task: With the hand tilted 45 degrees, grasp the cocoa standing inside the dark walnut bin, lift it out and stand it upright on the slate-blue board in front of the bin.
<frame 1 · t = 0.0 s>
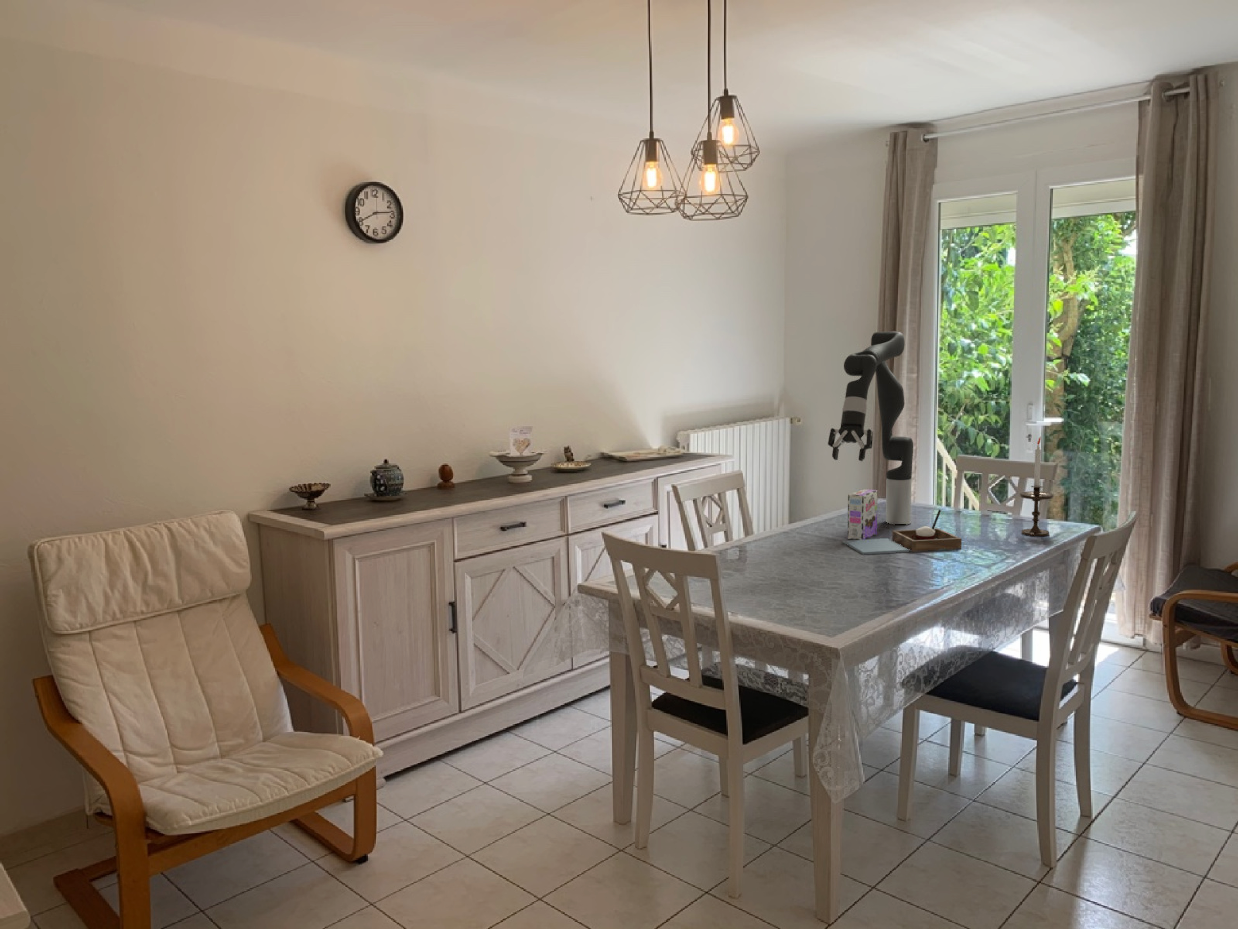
hand: (847, 460, 305), 31 cm above the table, tool tilted 20°, fingers open, 8 cm apart
candlestick: (1035, 534, 330), on the table
board: (875, 547, 317), on the table
bin: (925, 544, 319), on the table
cocoa: (925, 545, 319), resting in bin
candy box: (862, 537, 334), on the table
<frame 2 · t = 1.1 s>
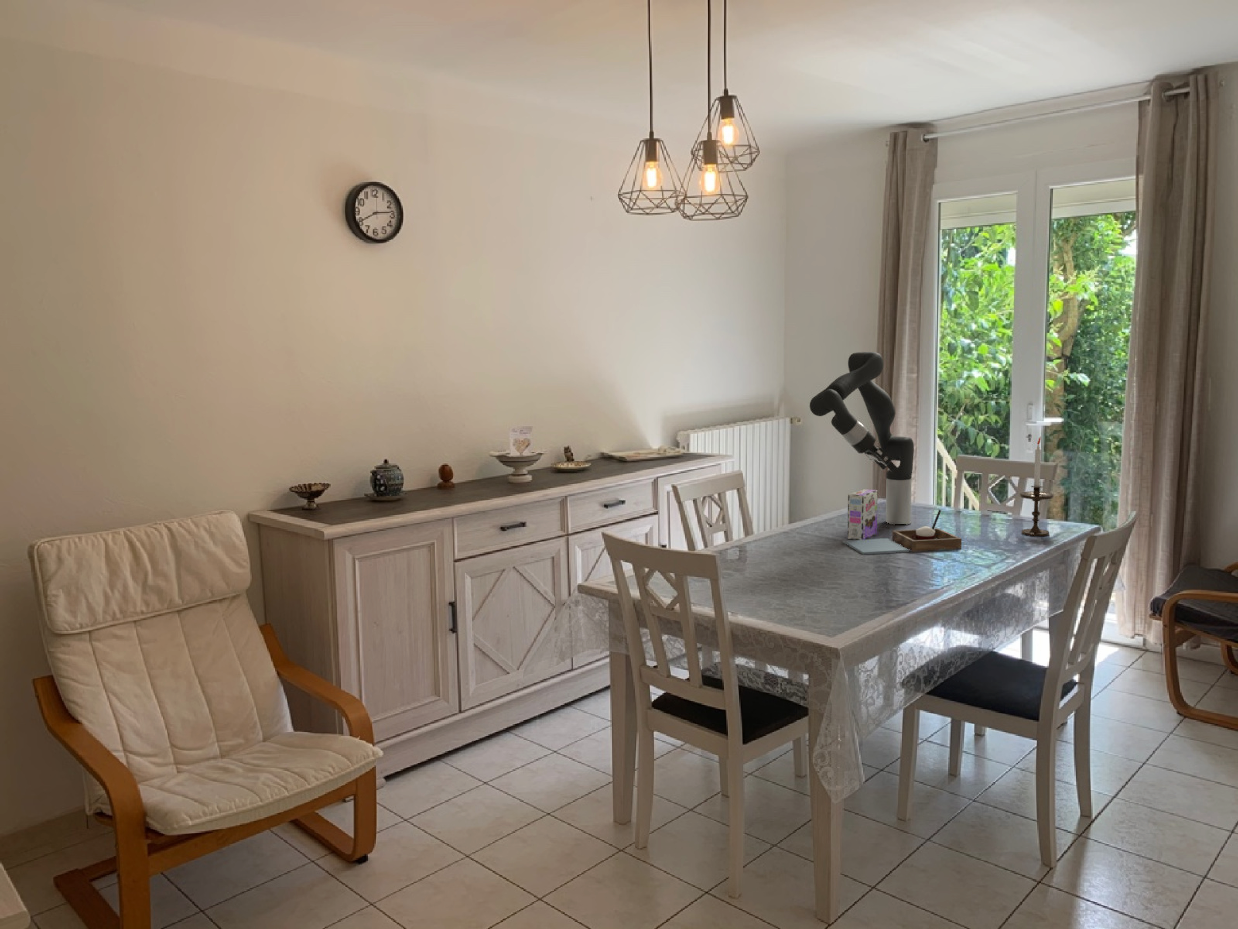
hand: (890, 469, 313), 27 cm above the table, tool tilted 45°, fingers open, 8 cm apart
nothing on the table moved.
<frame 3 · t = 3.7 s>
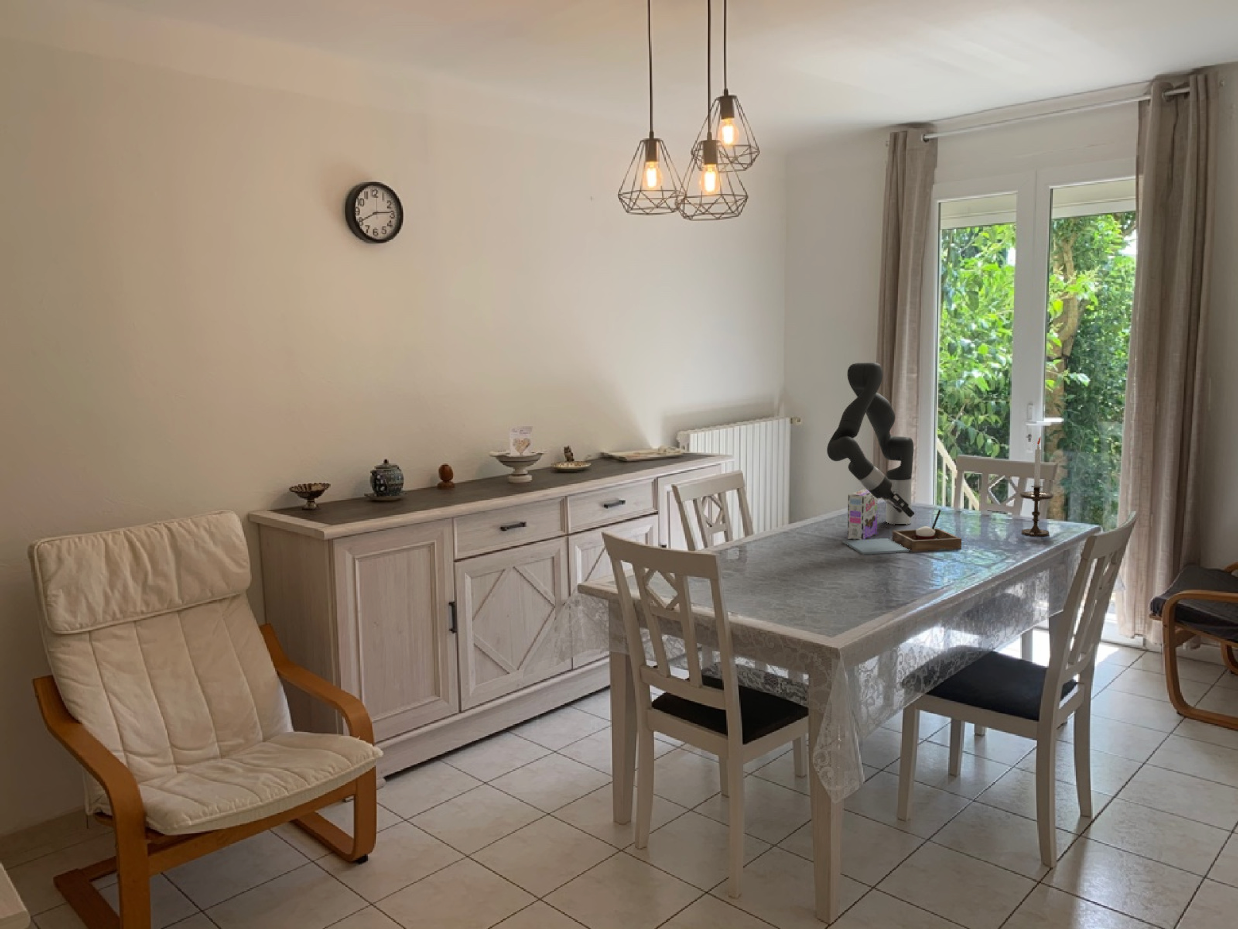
hand: (906, 513, 316), 11 cm above the table, tool tilted 45°, fingers open, 8 cm apart
nothing on the table moved.
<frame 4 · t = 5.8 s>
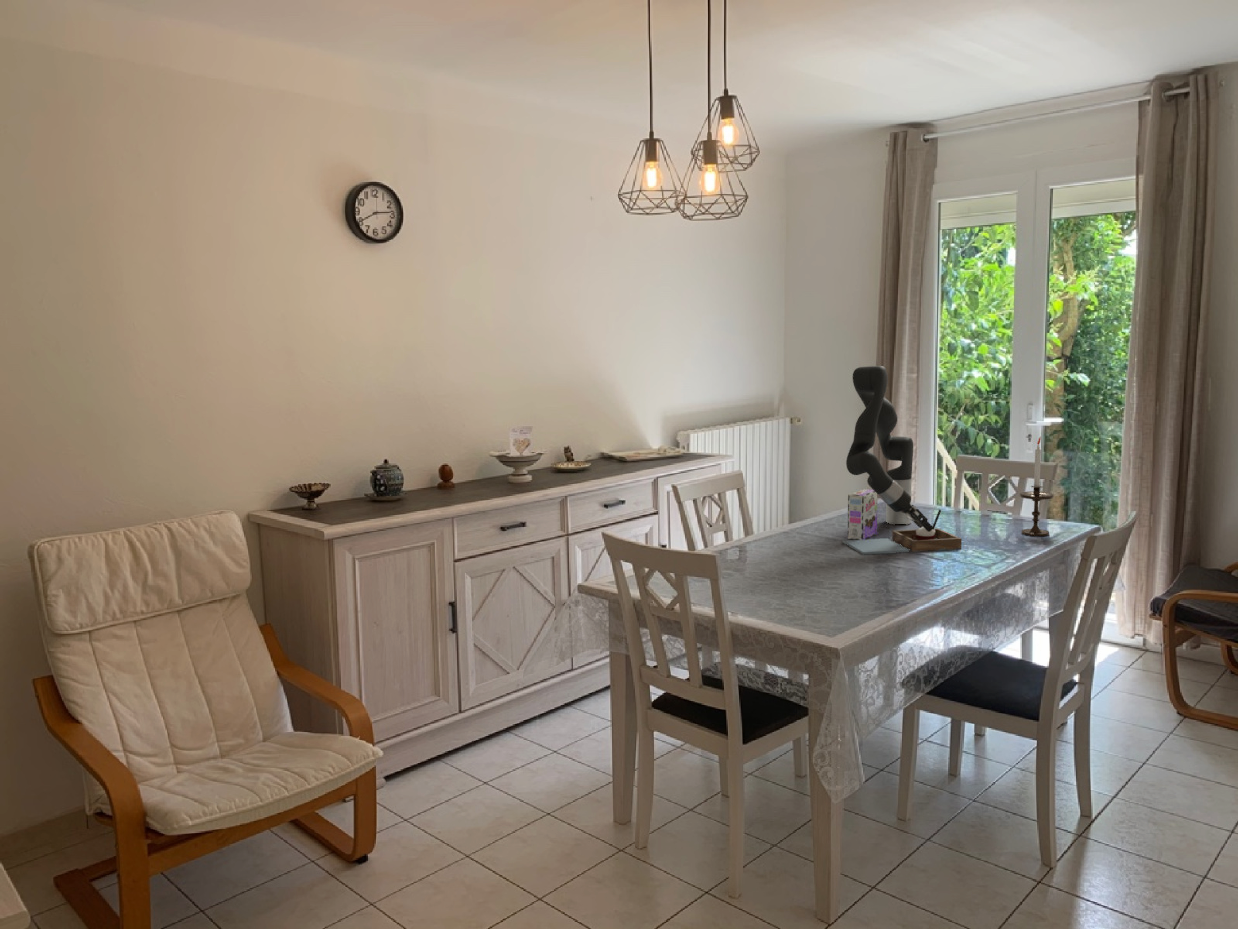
hand: (926, 527, 318), 6 cm above the table, tool tilted 45°, fingers closed on cocoa, 6 cm apart
cocoa: (926, 545, 319), resting in bin, touching gripper
everything else where it was.
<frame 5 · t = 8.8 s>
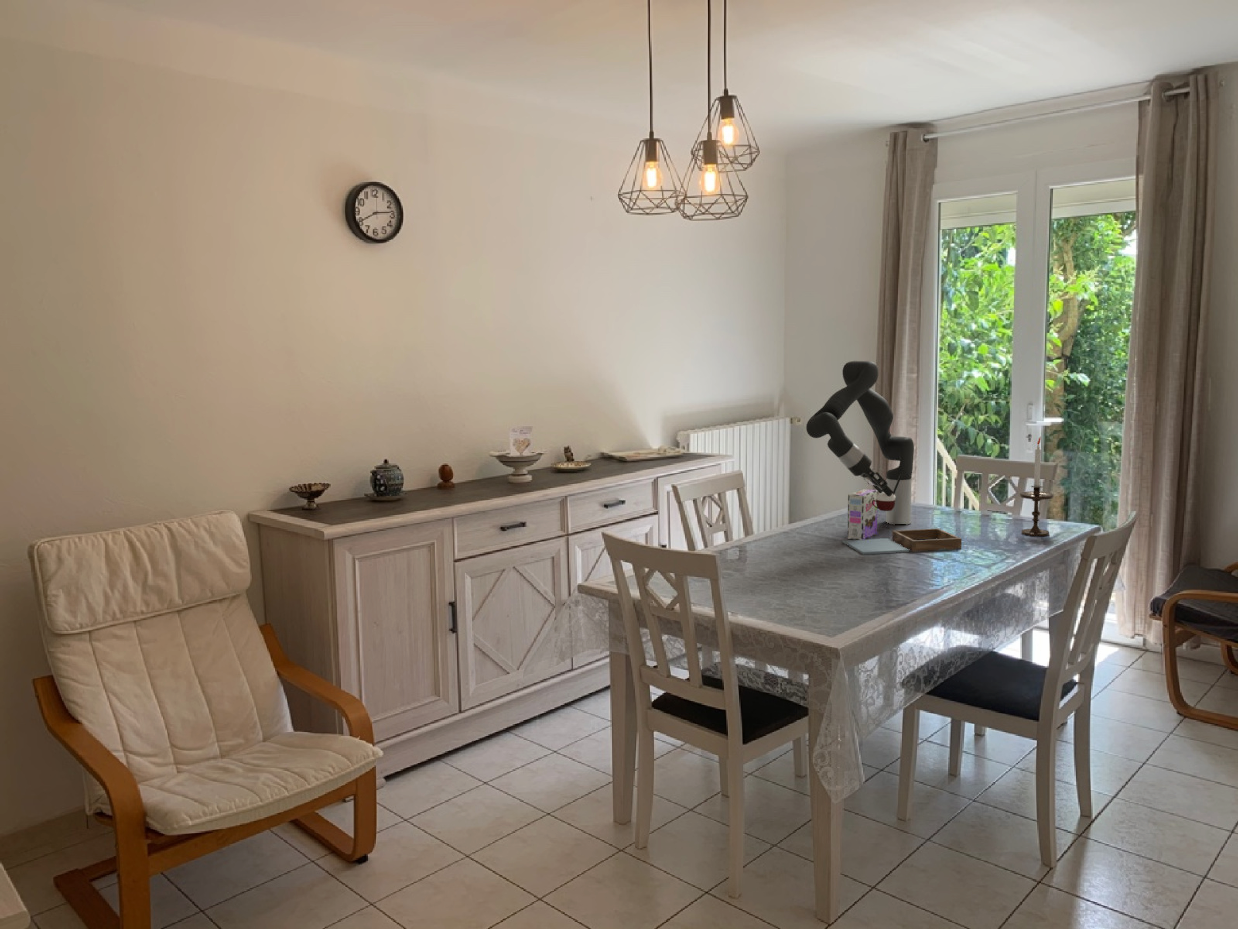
hand: (886, 493, 314), 19 cm above the table, tool tilted 45°, fingers closed on cocoa, 6 cm apart
cocoa: (886, 510, 315), point 13 cm above the table, touching gripper
everything else where it was.
when the fingers open (8 cm above the table, at t = 11.6 s): cocoa drops 1 cm, resting on board.
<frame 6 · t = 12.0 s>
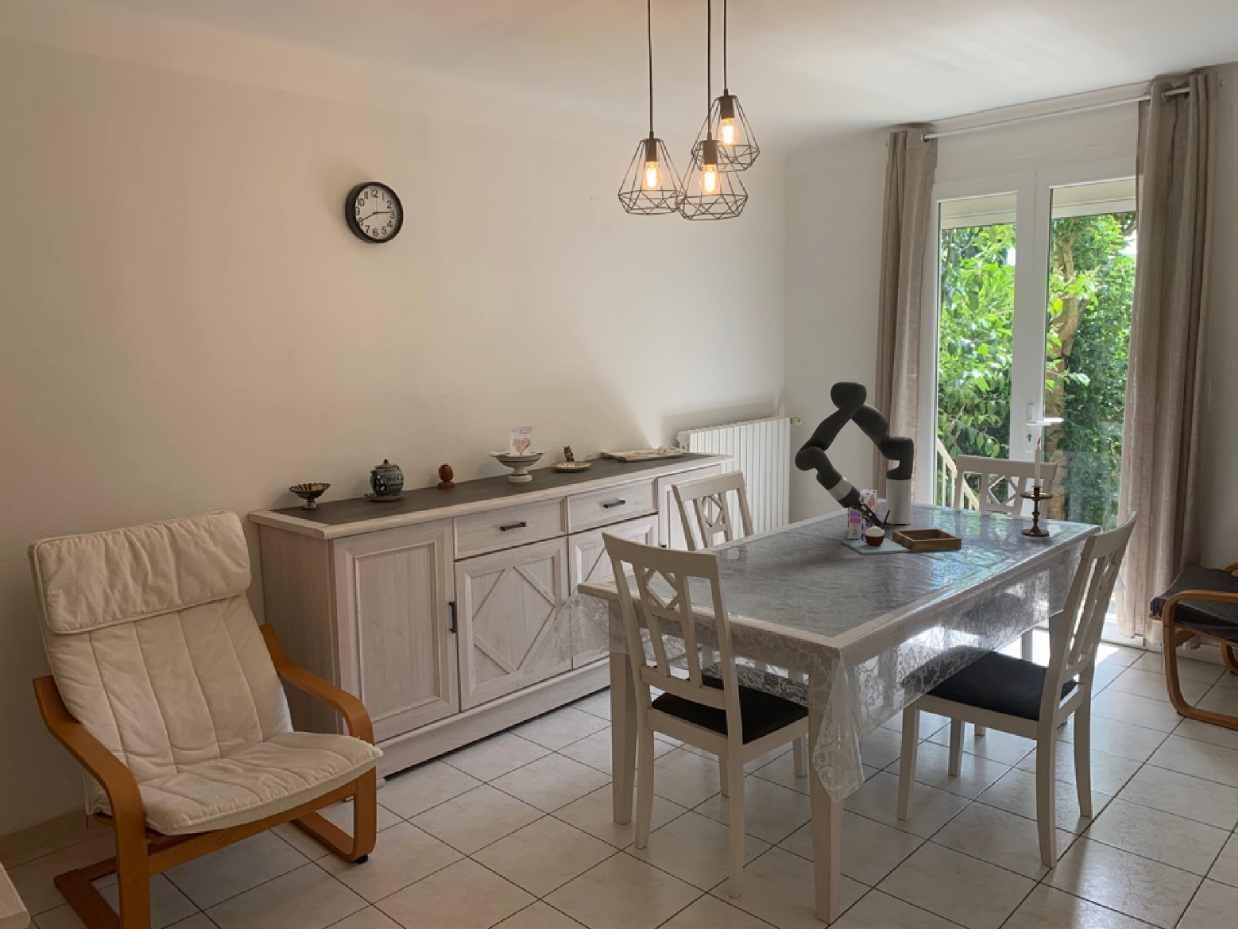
hand: (875, 523, 315), 8 cm above the table, tool tilted 45°, fingers open, 8 cm apart
cocoa: (875, 545, 317), point 1 cm above the table, touching board
everything else where it was.
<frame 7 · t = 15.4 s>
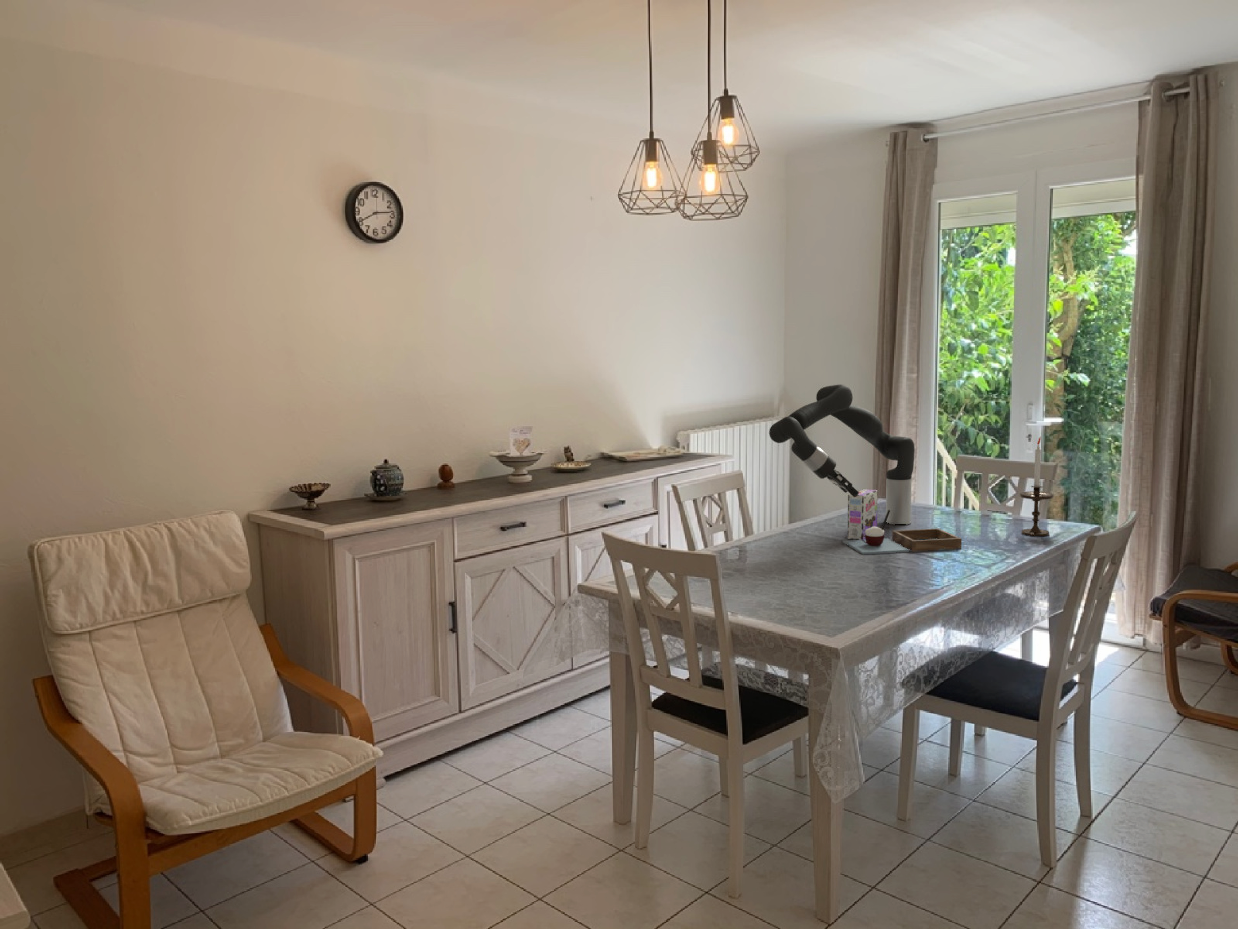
hand: (852, 492, 314), 19 cm above the table, tool tilted 45°, fingers open, 8 cm apart
nothing on the table moved.
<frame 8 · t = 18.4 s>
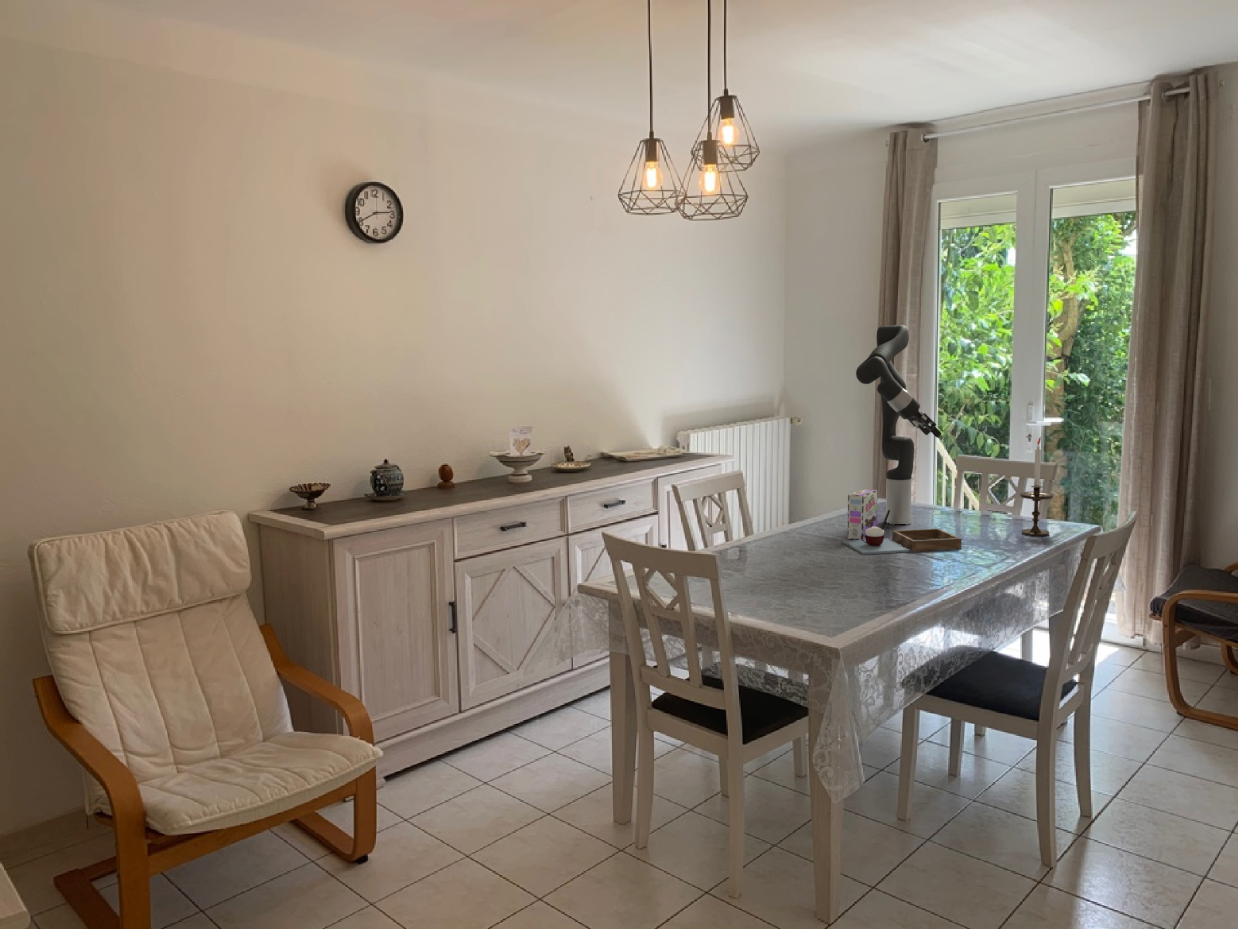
hand: (933, 434, 325), 37 cm above the table, tool tilted 45°, fingers open, 8 cm apart
nothing on the table moved.
at the end: cocoa inside the target area on the board (0.1 cm from its centre), point 0.6 cm above the board's base; cocoa tilted 0°; the gripper is holding nothing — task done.
